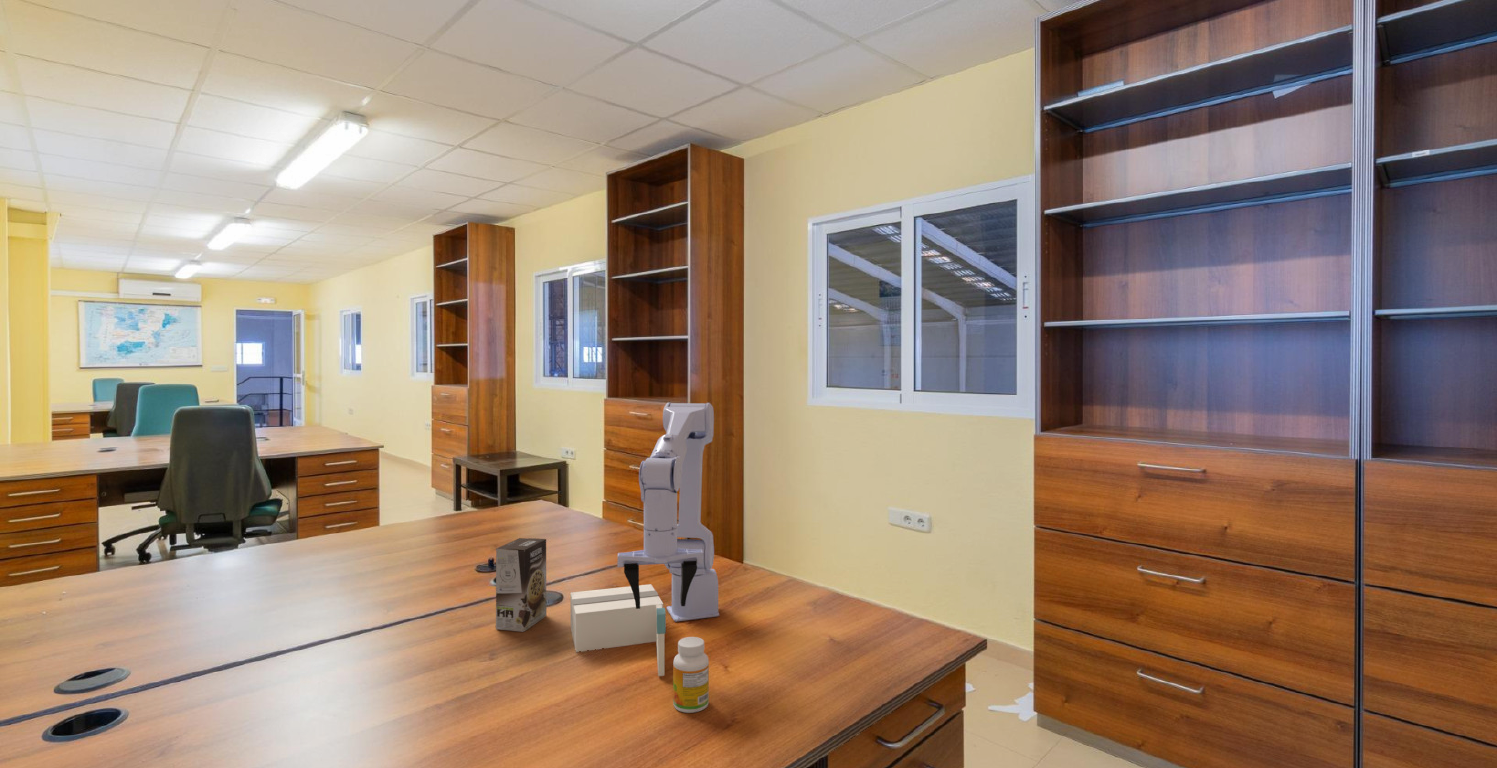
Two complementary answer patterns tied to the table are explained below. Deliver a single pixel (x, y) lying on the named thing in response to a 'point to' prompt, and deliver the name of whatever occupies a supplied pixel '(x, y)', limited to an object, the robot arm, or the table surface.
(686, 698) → the supplement bottle
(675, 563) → the robot arm
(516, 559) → the coffee box
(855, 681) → the table surface
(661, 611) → the green beige flat block
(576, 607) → the carton
